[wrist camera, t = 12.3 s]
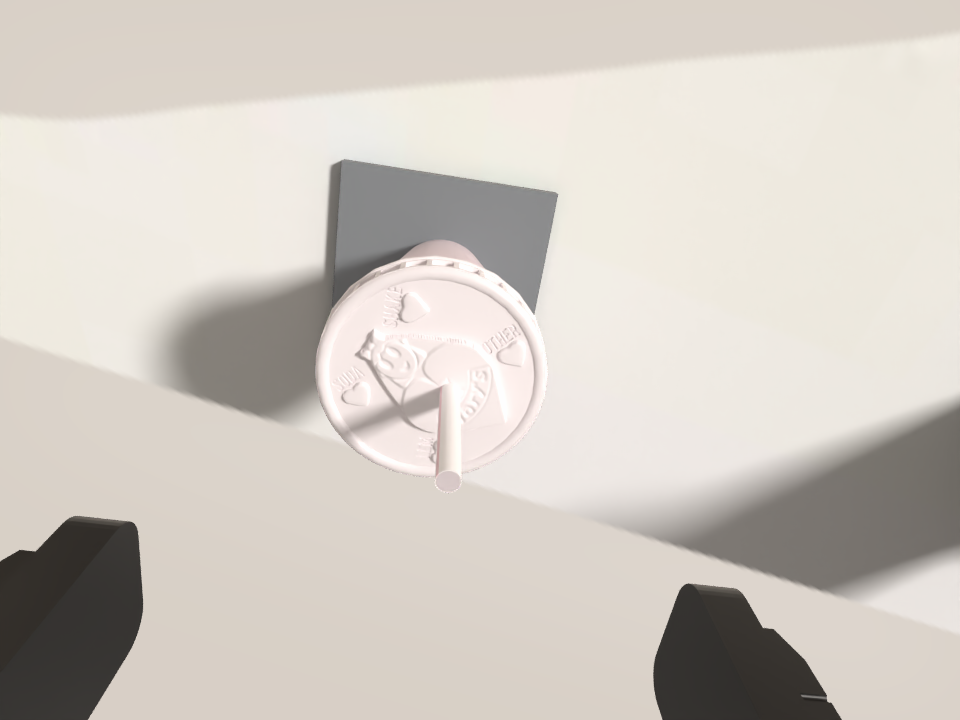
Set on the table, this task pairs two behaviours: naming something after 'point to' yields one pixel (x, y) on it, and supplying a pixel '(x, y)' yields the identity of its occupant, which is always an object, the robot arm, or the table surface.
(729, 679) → the robot arm
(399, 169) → the coaster
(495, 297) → the smoothie
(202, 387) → the table surface
